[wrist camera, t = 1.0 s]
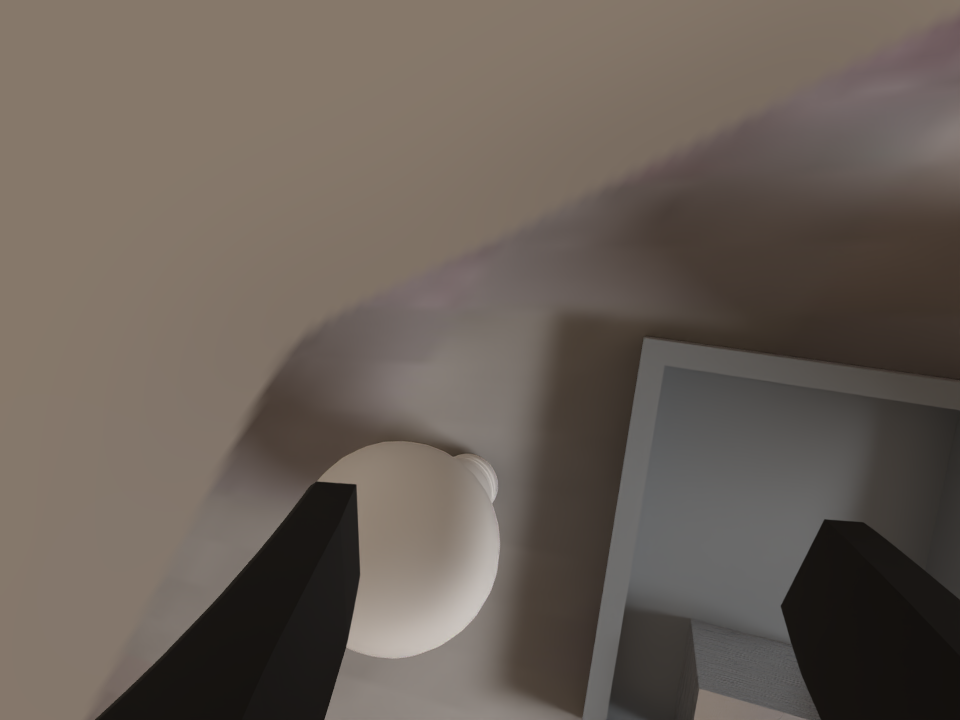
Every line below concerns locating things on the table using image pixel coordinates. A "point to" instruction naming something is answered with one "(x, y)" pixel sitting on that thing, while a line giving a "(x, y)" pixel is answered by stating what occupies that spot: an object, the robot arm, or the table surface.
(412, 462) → the lightbulb
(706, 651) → the steel block
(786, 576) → the tote
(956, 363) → the table surface
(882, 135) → the table surface
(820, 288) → the table surface
